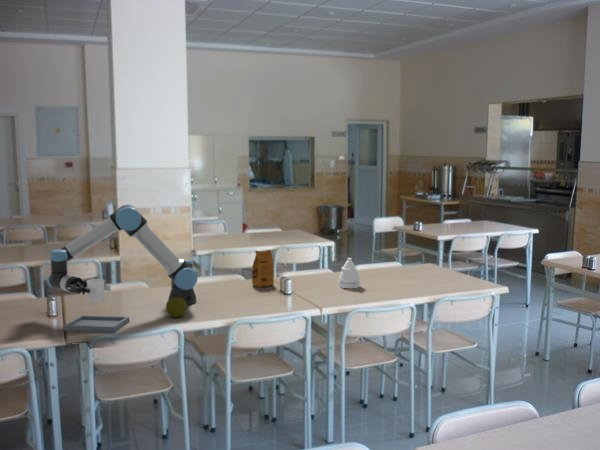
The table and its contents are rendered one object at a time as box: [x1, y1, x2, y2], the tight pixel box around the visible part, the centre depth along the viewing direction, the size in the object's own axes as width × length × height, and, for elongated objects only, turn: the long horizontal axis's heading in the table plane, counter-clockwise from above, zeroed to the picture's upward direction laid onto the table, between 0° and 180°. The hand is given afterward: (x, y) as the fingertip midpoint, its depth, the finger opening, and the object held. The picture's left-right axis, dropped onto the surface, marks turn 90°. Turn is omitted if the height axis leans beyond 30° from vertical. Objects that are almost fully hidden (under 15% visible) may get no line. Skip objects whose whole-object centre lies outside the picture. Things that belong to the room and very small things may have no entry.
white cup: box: [86, 278, 105, 304], centre depth 284 cm, size 8×8×10 cm
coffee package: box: [251, 249, 275, 288], centre depth 373 cm, size 10×12×22 cm
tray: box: [63, 315, 130, 333], centre depth 286 cm, size 24×18×2 cm
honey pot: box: [338, 257, 361, 289], centre depth 370 cm, size 13×13×18 cm
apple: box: [165, 297, 188, 318], centre depth 302 cm, size 10×10×11 cm
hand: (102, 290), depth 281 cm, fingers closed on white cup, 8 cm apart
